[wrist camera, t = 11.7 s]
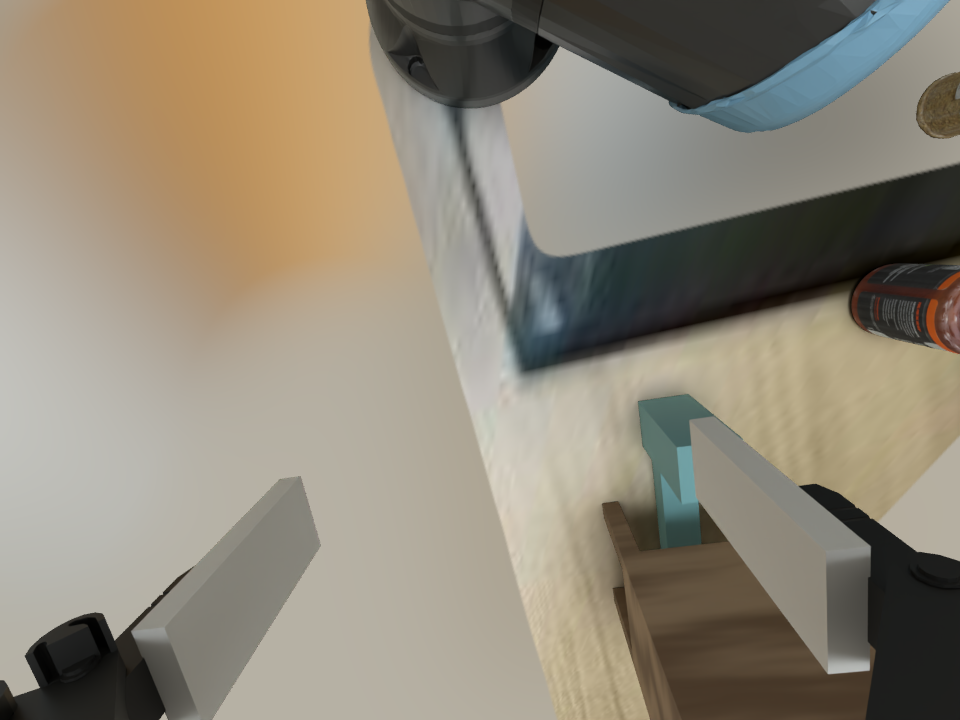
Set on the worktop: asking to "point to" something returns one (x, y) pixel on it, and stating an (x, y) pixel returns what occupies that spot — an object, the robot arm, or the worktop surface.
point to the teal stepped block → (673, 466)
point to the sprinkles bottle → (941, 107)
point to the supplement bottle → (911, 304)
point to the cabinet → (719, 639)
